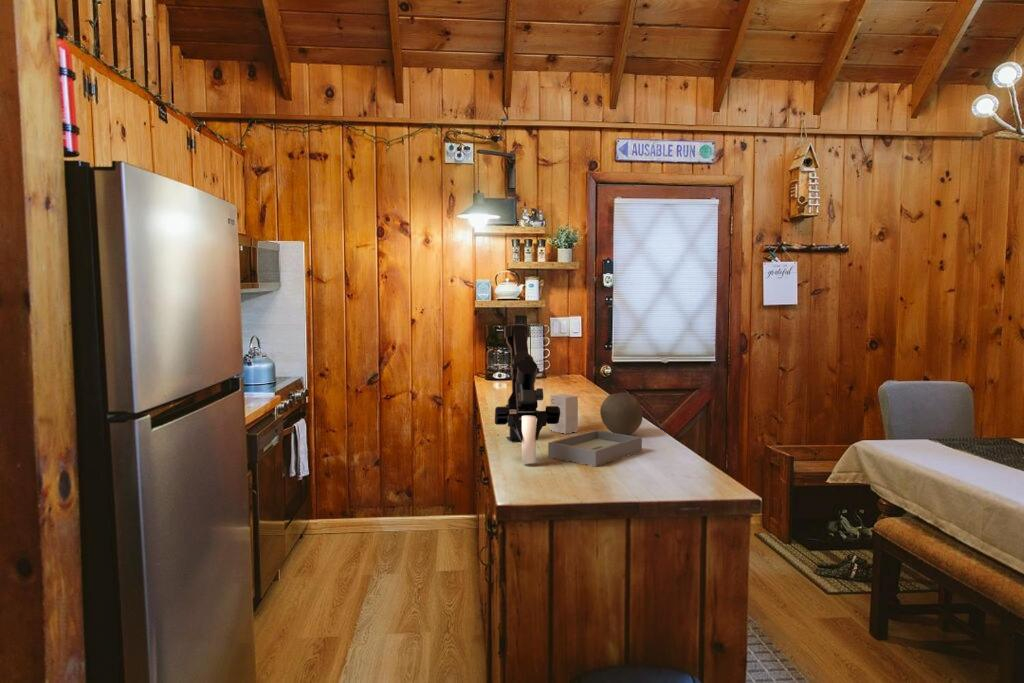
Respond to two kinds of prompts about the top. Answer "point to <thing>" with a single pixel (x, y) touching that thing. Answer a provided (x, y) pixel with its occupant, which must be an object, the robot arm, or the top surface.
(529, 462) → the peg
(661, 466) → the top surface
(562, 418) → the small box
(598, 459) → the tray
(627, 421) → the brown ball
